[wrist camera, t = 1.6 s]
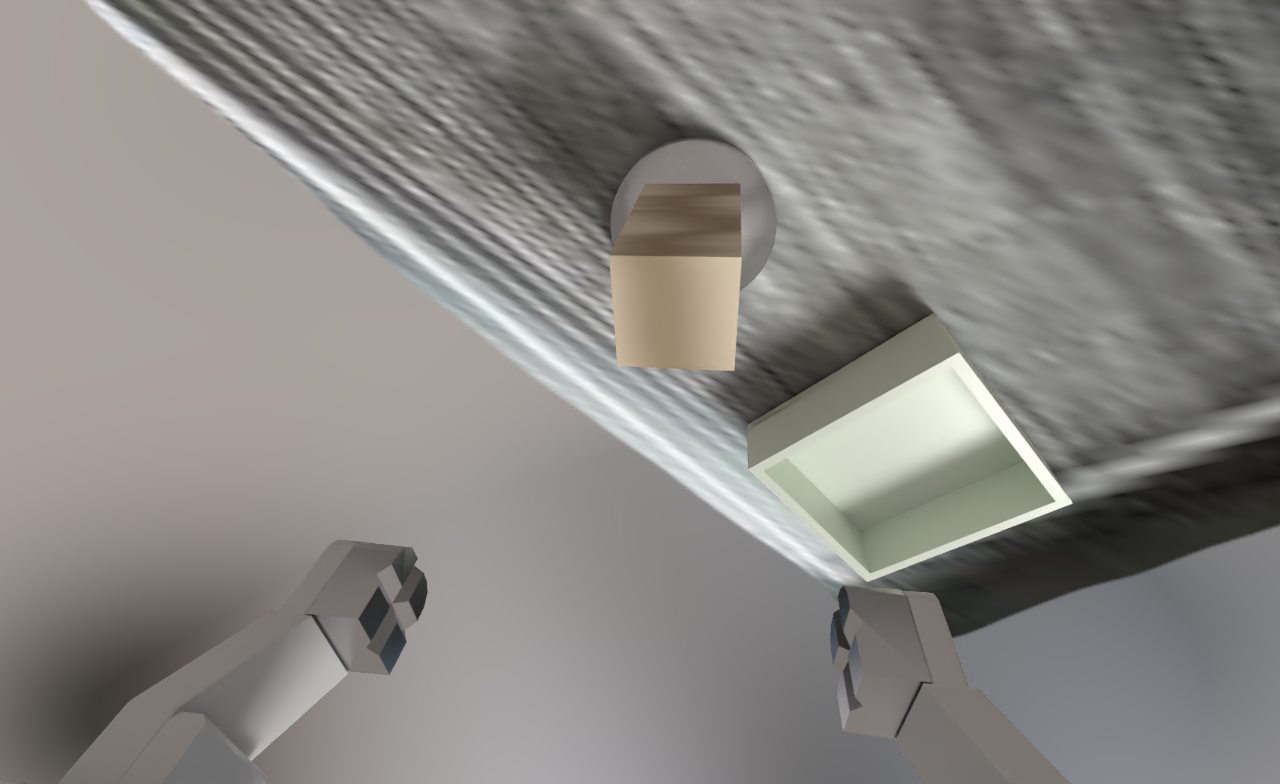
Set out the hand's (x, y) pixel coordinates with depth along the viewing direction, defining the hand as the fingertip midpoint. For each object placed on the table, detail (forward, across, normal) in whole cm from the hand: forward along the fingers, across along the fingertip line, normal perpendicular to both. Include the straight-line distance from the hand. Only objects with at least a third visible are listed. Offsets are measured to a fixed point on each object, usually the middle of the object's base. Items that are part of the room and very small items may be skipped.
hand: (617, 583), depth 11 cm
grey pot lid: (+21, 0, 0) cm, 21 cm away
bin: (+21, -12, +13) cm, 28 cm away
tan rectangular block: (+20, 0, 0) cm, 20 cm away
